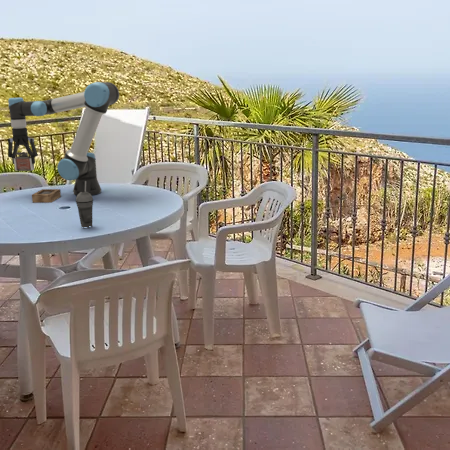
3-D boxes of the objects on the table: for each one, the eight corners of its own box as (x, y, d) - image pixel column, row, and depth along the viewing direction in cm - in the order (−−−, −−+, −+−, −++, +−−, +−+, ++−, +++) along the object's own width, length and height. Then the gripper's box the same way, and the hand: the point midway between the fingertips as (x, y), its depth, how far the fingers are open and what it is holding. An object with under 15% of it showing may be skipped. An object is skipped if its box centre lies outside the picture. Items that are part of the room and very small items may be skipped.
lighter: (33, 169, 278) (31, 151, 275) (30, 170, 274) (28, 152, 272) (19, 169, 278) (17, 151, 276) (16, 170, 275) (13, 152, 272)
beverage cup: (79, 224, 223) (75, 179, 217) (96, 224, 223) (92, 179, 218) (76, 229, 216) (72, 183, 210) (94, 228, 216) (90, 182, 211)
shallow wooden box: (61, 196, 278) (60, 189, 277) (51, 202, 265) (50, 194, 264) (43, 196, 279) (42, 189, 278) (32, 202, 265) (31, 194, 264)
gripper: (41, 126, 273) (46, 168, 279) (3, 127, 274) (9, 169, 280) (35, 127, 266) (40, 170, 272) (-4, 128, 267) (2, 171, 273)
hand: (24, 169), depth 276 cm, fingers closed on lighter, 8 cm apart
